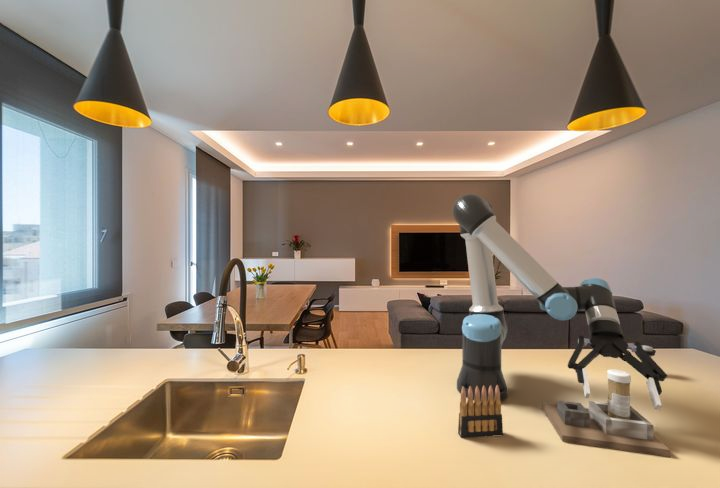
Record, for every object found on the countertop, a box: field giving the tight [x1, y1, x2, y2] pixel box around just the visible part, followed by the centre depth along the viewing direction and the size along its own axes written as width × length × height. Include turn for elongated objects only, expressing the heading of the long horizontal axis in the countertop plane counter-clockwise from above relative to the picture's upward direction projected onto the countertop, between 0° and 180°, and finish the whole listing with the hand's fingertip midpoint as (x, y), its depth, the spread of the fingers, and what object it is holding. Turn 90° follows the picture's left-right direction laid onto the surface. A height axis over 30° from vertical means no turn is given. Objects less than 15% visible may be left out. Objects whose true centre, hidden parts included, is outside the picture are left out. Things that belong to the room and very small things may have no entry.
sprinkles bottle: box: [606, 368, 632, 420], centre depth 79 cm, size 5×5×14 cm
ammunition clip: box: [457, 385, 504, 439], centre depth 78 cm, size 11×2×12 cm, turn 96°
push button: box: [640, 344, 657, 365], centre depth 115 cm, size 7×5×10 cm
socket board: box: [541, 400, 671, 458], centre depth 80 cm, size 21×16×5 cm
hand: (621, 401), depth 77 cm, fingers open, 13 cm apart
